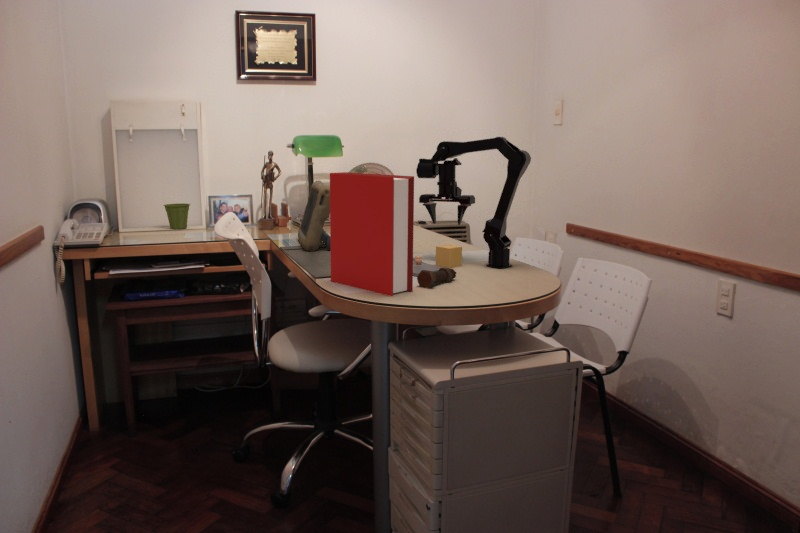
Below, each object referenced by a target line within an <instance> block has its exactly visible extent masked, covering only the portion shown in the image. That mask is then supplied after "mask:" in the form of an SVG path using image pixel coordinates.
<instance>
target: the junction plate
mask: <svg viewBox="0 0 800 533" xmlns="http://www.w3.org/2000/svg"><path fill="white" fill-rule="evenodd" d="M440 268H442V266H437V265H436V264H431V263H428V262H427V263H426V262H423V260H422V256H421V255H416V257H415V262H413V277H418V275H419V273H420V272H421V270H428V271H432V272H437V271H438V270H439V269H440ZM443 268H446V267H443Z"/></svg>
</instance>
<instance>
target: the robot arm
mask: <svg viewBox="0 0 800 533" xmlns="http://www.w3.org/2000/svg"><path fill="white" fill-rule="evenodd" d="M491 150H492V151H493V150H497V151H498V152H499V153H500V154H501V155H502V156H503V157H504V158H505V159H507V166H506V168H507V169H506V170H507V171H506V172H507V173H506V174H507V176H506V179H505V182H504V184H503V188H502V191H501V194H500V196H499V200H498V204H497V206H496V209H495V211H494V212H495V213H494V215H493V217H492V218H490V219H487V220H486V221H485V223H484V224H485V225H484V229H483V230H482V233H483V239H484V242H485V243H486V244H487V246H488V248H489V249H488V250H489V251H488V260H487V262H488V263H486V264H485V266H486V267H490V268H496V269H505V268H511V267H513V265H512V264H510V255H511V254H510V253H511V252H510V250H511V249H510V246H512V240H511V239H510V238H509V237H508V235H506V232H507V219H508V217H509V216H508V215H509V213H510V210H511V206H512V204H513V201H514V198H515V195H516V192H517V190H518V189H517V188H518V186H519V183H520V182H521V181H520V180H521V179H522V177H523V176H524V174H525V173H526V171H527V170H528V167H529V165H530V164H531V160H532V157H531V155H530V153H529V152H528V151H527V150H523V149H520V148H519V147H518V146H516V145H514V144H513V143H512V142H510V141H509V140H508V139H507V138H506V137H505V136H496V137H492V138H491V137H490V138H485V139H484V138H483V139H478V140H470V141H452V140H451V141H450V140H449V141H445V140H444V141H440V142H439V143H438V145H437V146H436V151H435V152H434V154H433V155H432V157H431V158H419V159H418V164H417V166H416V177H417V178H418V179H436V178H437V176H438V181H437V182H436V185H437V186H438V193H437V195H436V194H435V193H425V194H420V196H419V198H418V203H419V204H422V206H424V207H425V209H426V211H427V212H428V214H429V216H430V219H431V221H432V223H433V224H436V222H437V213H436V212H437V211H436V209H437V208H436V207H437V203H438V202H443V203H448V202H449V203H459V204H458V205H457V225H458V226H460V225H461V224H462V221H463V218H464V215H465V213H466V210H467V209H468V208H469V207H471V206H472V205H474V204H476V197H475V196H474V195H473V194H463V195H462V191H463V190H462V188H460V187H459V186H458V183H457V181H456V169H457V168H456V167H457V166H462V164H463V163H462V162H461V161H460V160H459V159H458V158H457V157H460V156H463V155H465V154H469V153H478V152H483V151H484V152H485V151H491ZM448 159H450V160H448ZM451 159H453V160H451ZM439 162H443V163H439Z"/></svg>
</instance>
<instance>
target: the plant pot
mask: <svg viewBox="0 0 800 533" xmlns="http://www.w3.org/2000/svg"><path fill="white" fill-rule="evenodd" d="M163 206H164V209H165V212H166V215H167V216H166V217H167V219H168V223H169V228H170V229H171V230H173V229H174V230H183V229H187V227H188V218H189V217H188V216H189V211H190V206H191V203H168V204H163Z"/></svg>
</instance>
